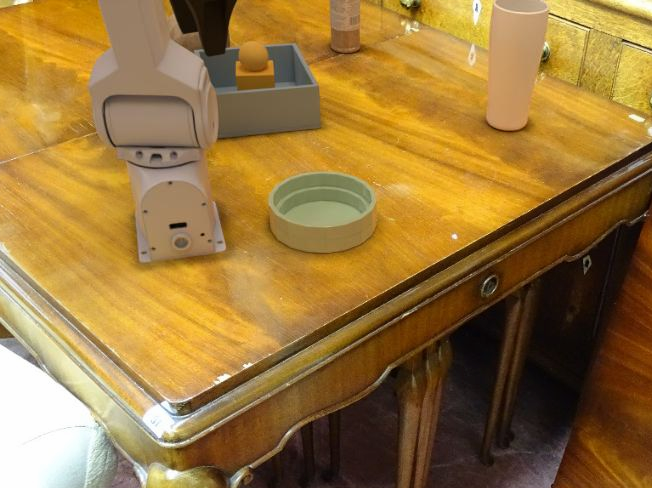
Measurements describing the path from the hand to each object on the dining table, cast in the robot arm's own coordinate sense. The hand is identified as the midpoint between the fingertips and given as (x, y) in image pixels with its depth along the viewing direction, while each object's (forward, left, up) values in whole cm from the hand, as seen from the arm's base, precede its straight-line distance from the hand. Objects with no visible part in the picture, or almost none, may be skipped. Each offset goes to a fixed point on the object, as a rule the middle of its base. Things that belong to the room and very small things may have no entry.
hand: (202, 42), depth 88 cm
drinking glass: (-7, -36, -11) cm, 38 cm away
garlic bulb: (+18, 0, -11) cm, 21 cm away
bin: (+4, -6, -10) cm, 13 cm away
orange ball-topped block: (+4, -6, -10) cm, 12 cm away
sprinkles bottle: (+22, -22, -11) cm, 33 cm away
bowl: (-25, -8, -10) cm, 28 cm away
